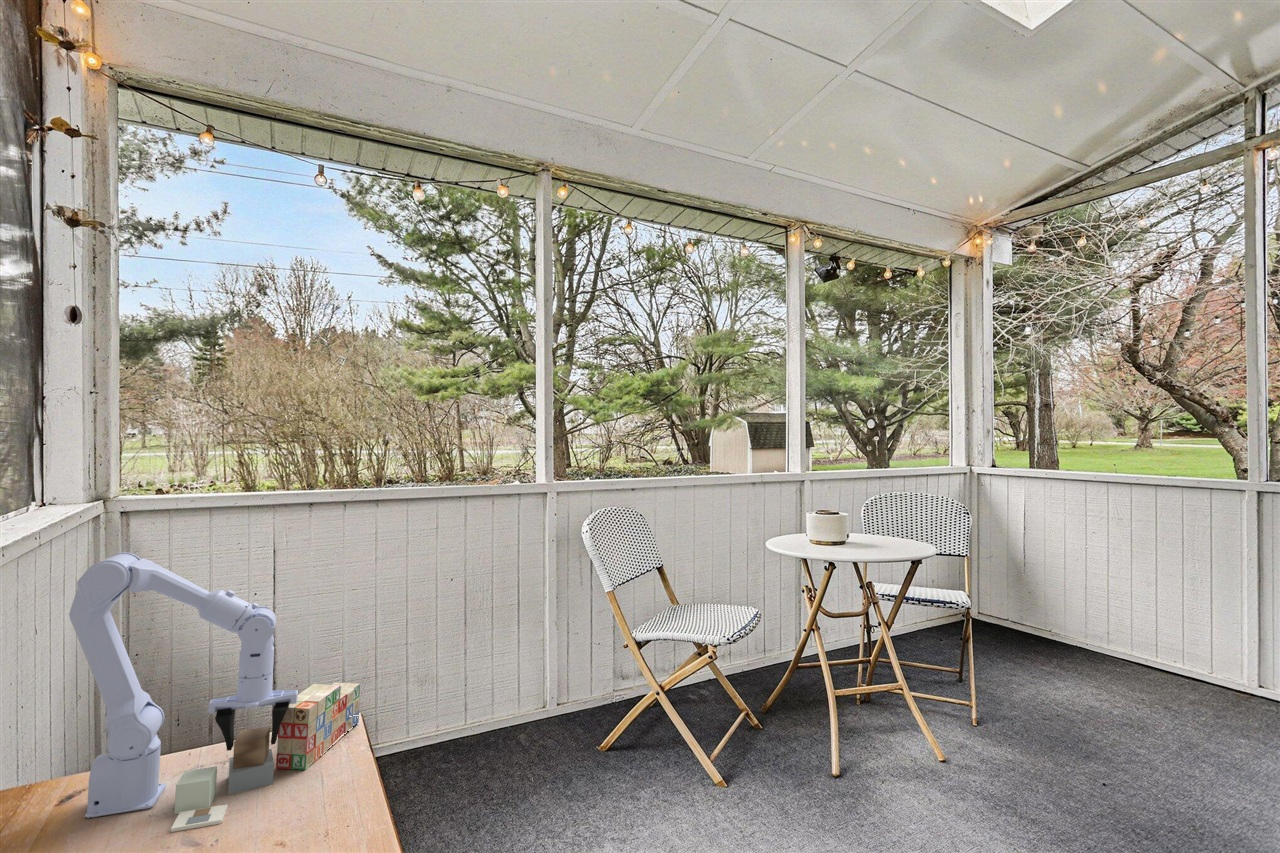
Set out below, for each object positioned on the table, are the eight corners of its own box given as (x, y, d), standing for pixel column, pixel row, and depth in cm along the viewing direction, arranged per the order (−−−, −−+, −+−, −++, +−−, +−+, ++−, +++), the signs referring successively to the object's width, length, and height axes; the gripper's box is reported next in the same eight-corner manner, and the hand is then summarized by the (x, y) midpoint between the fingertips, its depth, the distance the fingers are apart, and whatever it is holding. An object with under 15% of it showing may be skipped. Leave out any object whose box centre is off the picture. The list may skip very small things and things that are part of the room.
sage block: (174, 814, 108) (176, 784, 108) (183, 799, 112) (184, 771, 112) (208, 808, 109) (210, 779, 110) (215, 794, 114) (217, 766, 114)
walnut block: (232, 769, 116) (234, 741, 116) (239, 756, 120) (240, 730, 120) (263, 764, 117) (264, 738, 118) (268, 752, 122) (270, 726, 122)
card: (170, 832, 102) (170, 827, 102) (179, 815, 107) (180, 811, 107) (220, 823, 105) (220, 819, 105) (227, 807, 110) (227, 803, 110)
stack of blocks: (332, 722, 144) (335, 668, 145) (359, 723, 144) (362, 670, 145) (274, 768, 123) (278, 705, 123) (305, 770, 123) (309, 707, 123)
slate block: (228, 796, 114) (229, 773, 114) (228, 778, 120) (229, 757, 120) (272, 785, 118) (273, 763, 118) (270, 769, 124) (271, 748, 124)
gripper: (205, 685, 113) (201, 761, 113) (295, 676, 119) (292, 748, 118) (215, 672, 120) (211, 744, 119) (300, 664, 125) (297, 732, 125)
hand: (252, 745), depth 119 cm, fingers open, 7 cm apart
